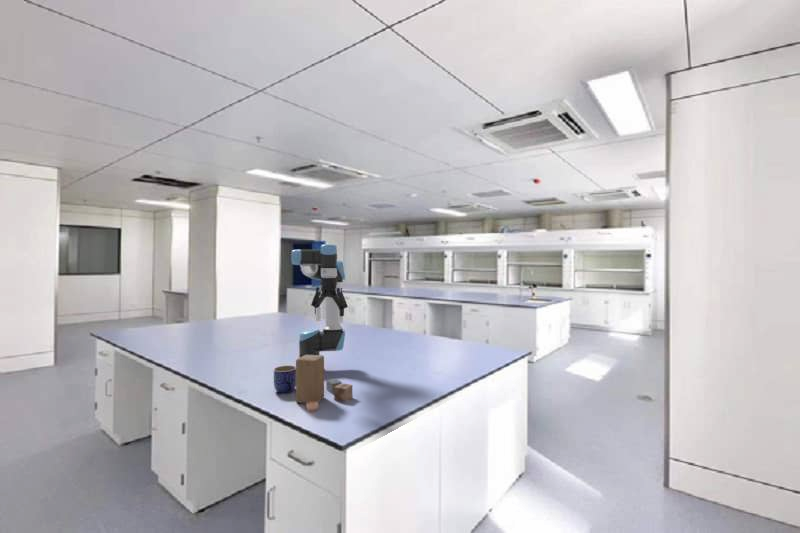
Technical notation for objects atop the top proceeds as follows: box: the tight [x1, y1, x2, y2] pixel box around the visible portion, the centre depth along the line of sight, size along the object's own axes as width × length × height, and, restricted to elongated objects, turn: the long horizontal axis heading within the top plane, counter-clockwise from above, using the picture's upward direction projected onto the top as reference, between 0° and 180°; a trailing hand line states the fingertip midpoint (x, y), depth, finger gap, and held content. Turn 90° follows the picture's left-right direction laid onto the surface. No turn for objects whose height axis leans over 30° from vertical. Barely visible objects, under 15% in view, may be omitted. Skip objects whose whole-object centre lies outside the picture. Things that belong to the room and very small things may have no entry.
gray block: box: [325, 378, 342, 395], centre depth 183 cm, size 7×5×5 cm
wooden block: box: [295, 354, 325, 405], centre depth 171 cm, size 10×10×20 cm
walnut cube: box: [333, 383, 353, 403], centre depth 173 cm, size 6×6×6 cm
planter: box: [273, 365, 296, 394], centre depth 183 cm, size 11×11×11 cm
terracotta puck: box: [306, 401, 319, 413], centre depth 160 cm, size 5×5×3 cm
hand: (329, 322), depth 176 cm, fingers open, 13 cm apart
